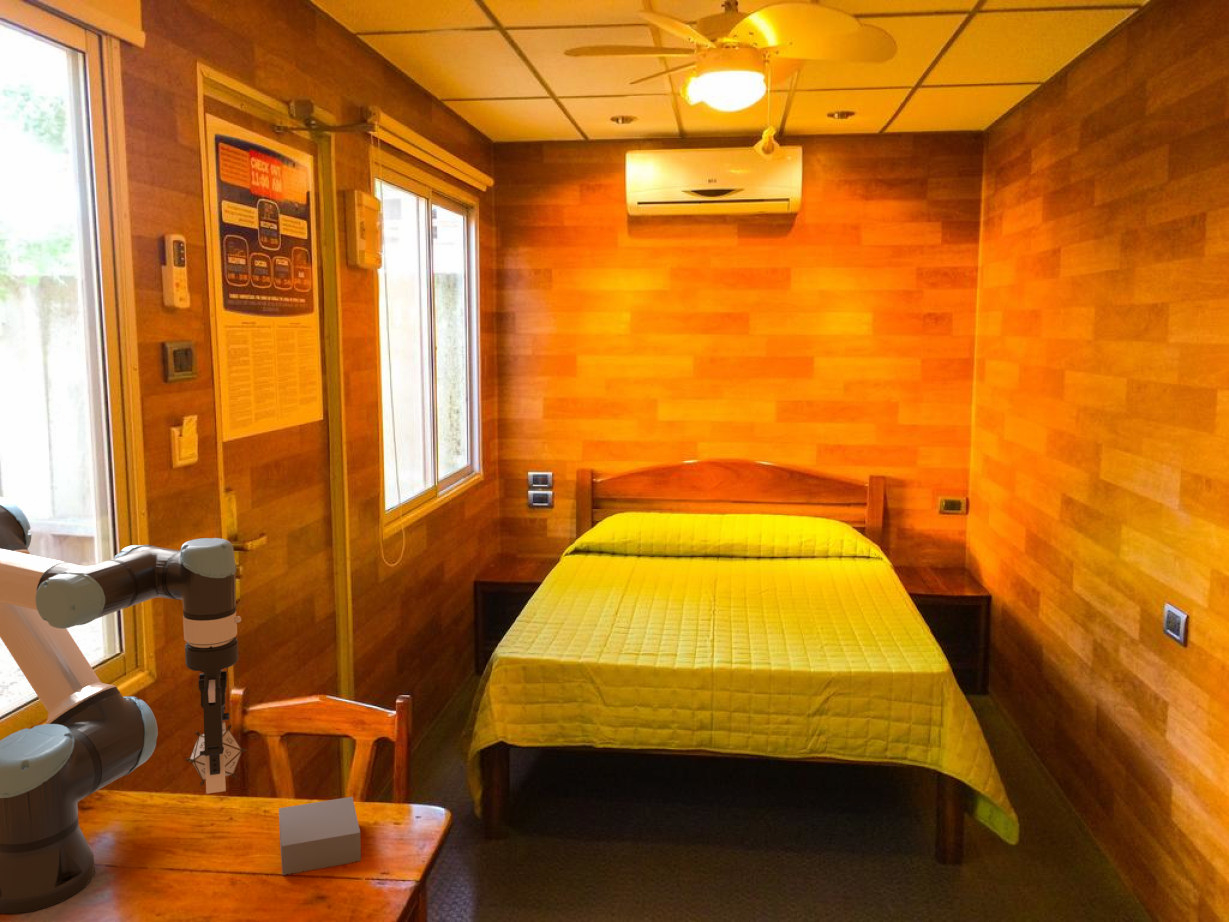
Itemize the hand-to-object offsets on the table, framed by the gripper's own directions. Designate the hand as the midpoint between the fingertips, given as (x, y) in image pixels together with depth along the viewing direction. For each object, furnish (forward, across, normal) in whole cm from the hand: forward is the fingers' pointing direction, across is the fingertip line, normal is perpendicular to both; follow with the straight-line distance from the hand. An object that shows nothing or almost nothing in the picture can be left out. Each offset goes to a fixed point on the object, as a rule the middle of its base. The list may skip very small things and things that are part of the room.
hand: (216, 775), depth 147 cm
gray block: (+15, 0, -15) cm, 21 cm away
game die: (+1, 0, 0) cm, 1 cm away
